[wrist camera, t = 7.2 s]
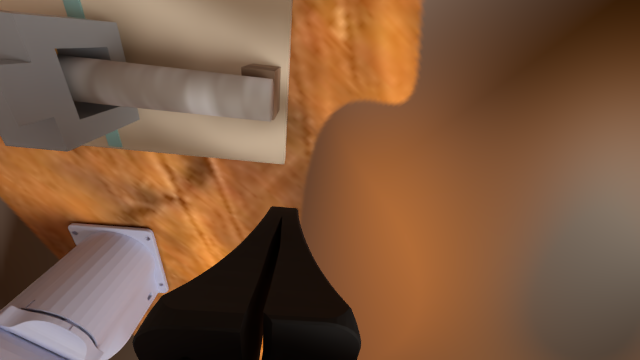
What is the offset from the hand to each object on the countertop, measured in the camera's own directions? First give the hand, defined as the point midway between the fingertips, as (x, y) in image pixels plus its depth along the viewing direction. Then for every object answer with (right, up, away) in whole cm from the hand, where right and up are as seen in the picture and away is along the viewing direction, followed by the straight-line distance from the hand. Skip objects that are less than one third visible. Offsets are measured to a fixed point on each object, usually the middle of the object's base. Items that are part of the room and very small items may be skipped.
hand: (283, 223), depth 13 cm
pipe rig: (-10, +10, +6) cm, 15 cm away
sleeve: (-12, +9, +4) cm, 16 cm away
